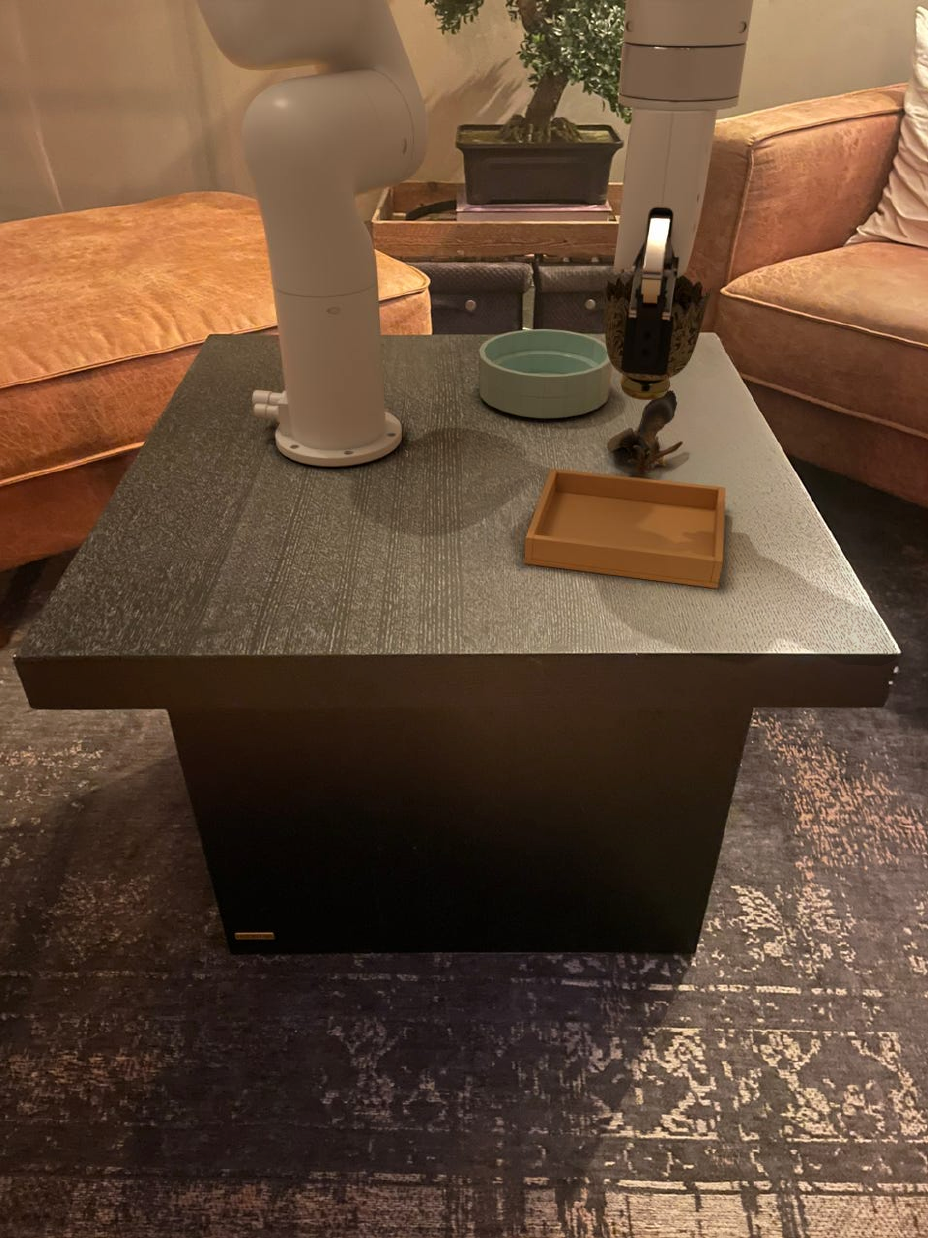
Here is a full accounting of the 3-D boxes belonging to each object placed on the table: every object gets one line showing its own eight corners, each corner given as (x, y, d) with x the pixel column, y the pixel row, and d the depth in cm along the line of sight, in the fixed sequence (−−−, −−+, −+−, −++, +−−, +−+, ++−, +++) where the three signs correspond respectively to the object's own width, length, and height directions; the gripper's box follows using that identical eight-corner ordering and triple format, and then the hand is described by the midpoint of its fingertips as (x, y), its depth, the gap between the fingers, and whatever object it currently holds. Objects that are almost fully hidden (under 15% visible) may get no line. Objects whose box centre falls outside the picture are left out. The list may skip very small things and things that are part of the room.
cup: (585, 377, 73) (594, 273, 68) (676, 373, 73) (690, 270, 68) (608, 415, 66) (619, 303, 62) (706, 411, 67) (724, 300, 62)
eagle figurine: (701, 474, 84) (692, 417, 90) (667, 417, 80) (660, 361, 86) (625, 507, 87) (622, 449, 93) (589, 454, 83) (588, 398, 89)
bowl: (465, 415, 97) (465, 369, 94) (494, 366, 108) (495, 324, 105) (599, 428, 94) (603, 381, 92) (615, 377, 106) (619, 334, 103)
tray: (524, 563, 74) (525, 536, 72) (549, 492, 83) (551, 467, 82) (717, 588, 71) (723, 561, 69) (720, 512, 80) (725, 487, 79)
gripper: (633, 62, 65) (610, 312, 76) (603, 92, 51) (581, 393, 62) (741, 64, 64) (704, 319, 74) (741, 96, 50) (695, 403, 60)
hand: (648, 351), depth 68 cm, fingers closed on cup, 7 cm apart
